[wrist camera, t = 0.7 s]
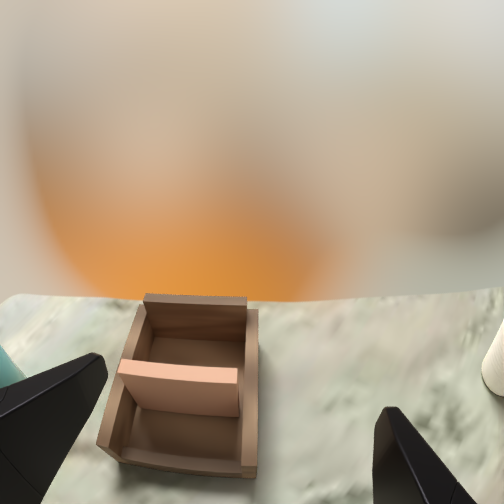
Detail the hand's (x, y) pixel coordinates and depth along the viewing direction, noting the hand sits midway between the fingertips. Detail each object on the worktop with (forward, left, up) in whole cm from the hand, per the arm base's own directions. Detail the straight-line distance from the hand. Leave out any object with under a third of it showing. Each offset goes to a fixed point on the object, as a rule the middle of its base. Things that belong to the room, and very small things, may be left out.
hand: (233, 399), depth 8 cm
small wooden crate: (+5, +9, -16) cm, 19 cm away
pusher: (+3, +7, -15) cm, 17 cm away
